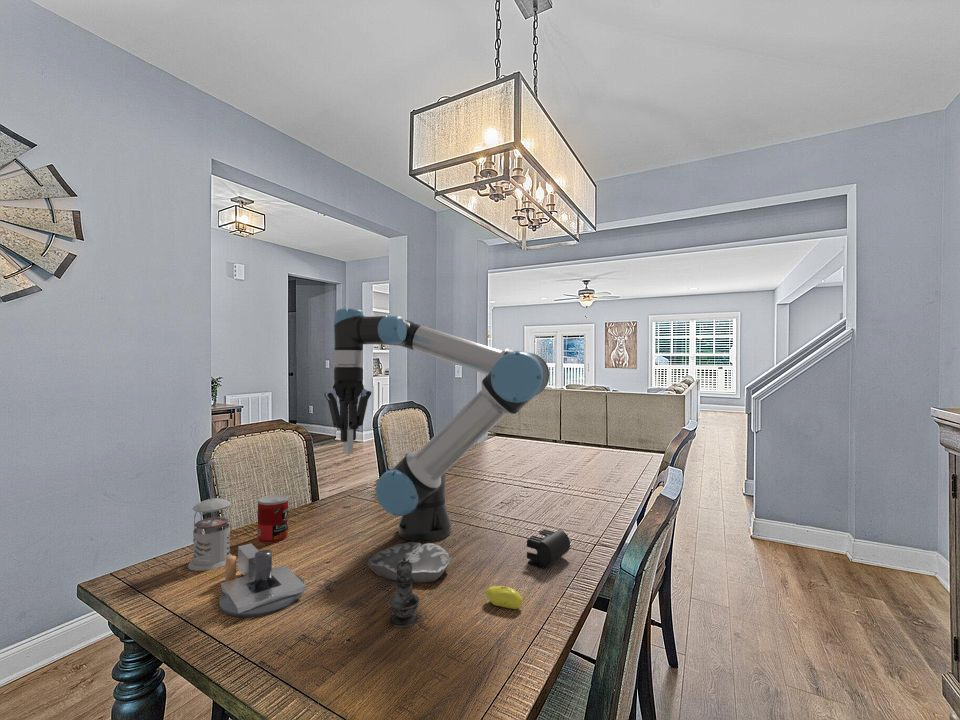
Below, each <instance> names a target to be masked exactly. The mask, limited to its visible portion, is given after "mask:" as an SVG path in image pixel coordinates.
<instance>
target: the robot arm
mask: <svg viewBox="0 0 960 720" xmlns="http://www.w3.org/2000/svg"><path fill="white" fill-rule="evenodd" d="M333 328H334V329H333V330H334V331H333V332H334V352H333V353H334V355H333V356H334V358H333V359H334V360H333V362H334V363H333V364H334V365H335V367H334V368H333V380H334V381H333V382H334V384H333V385H332V389H331V390H329V391H328V392H325V393H324V397H325V400H326V401H327V402H328V407H329V412H330V416H331V420H332V425H333V427H334V428H336V429H339V430H340V441H341V442H343V444H342V445H343V447H342V448H343V449H342V451H343V452H342V453H343V454H346V455H352V454H354V441H356V439H357V429H359V427H361V426H363V424H364V421H365V415H366V411H367V407H368V402H369V399H370V398H371V396H372V392H371V391H370V390H367V389H366V388H365V387H364V384H363V379H364V368H363V367H362V366H363V365H364V345H388V346H400V347H403V348H406V349H409V350H412V351H416V352H419V353H421V354H425V355H428V356H430V357H434V358H437V359H438V360H443V361H445V362H448V363H452V364H454V365H457V366H460V367H463V368H465V369H469V370H472V371H475V372H477V373H481V374H483V375H485V377H484V378H483V379H482V380H481V389H480V391H479V392H477V393H476V394H475V395H474V396H473V398H471V399H470V400H469V401H468V402H467V403H466V404H465V405H464V406H463V407H462V408H461V409H460V410H459V411H458V412H457V413H456V414H455V415H454V416H453V417H451V419H449V421H448V422H447V423H446V424H445V425H444V426H443V427H442V428H441V429H440V430H439V431H438V432H437V433H436V434H435V435H434V436H433V437H432V438H430V439H429V440H428V441H427V442H426V444H424V445H423V446H422V447H421V448H420V450H419V451H408V452H406V453H405V456H404V457H403V458H402V459H401V460H399V462H398V463H397V464H396V465H395V466H394V467H393V468H391V469H388V470H387V471H385V472H383V474H382V475H381V476H380V477H379V478H378V480H377V482H376V487H375V490H376V492H375V495H376V498H377V501H378V504H379V505H380V506H381V508H382V510H384V511H385V512H386V513H387V514H389V515H391V516H396V517H401V518H400V520H399V523H398V535H399V537H400V538H402V539H403V540H407V541H409V542H418V543H424V542H426V543H428V542H433V541H434V542H435V541H439V540H442V539H445V538H447V537H448V536H449V535H450V534H451V532H452V522H451V519H450V516H449V513H448V510H447V506H446V473H447V471H448V470H449V469H450V468H451V467H453V465H455V463H457V462H458V461H459V460H460V459H461V458H462V457H463V456H464V455H465V454H467V452H469V450H470V449H472V448H473V446H474V445H476V444H477V443H478V442H479V441H480V440H481V439H482V438H483V437H484V436H485V435H486V434H487V433H488V432H490V430H492V428H494V426H495V425H497V424H498V423H499V422H500V421H501V420H502V419H503V418H504V417H506V416H507V415H508V416H515V415H517V413H518V412H519V411H521V409H522V408H524V407H525V405H527V404H528V403H529V402H530V401H531V400H532V399H533V398H535V397H536V396H537V395H539V394H540V393H542V392H543V391H544V390H545V389H546V387H547V385H548V384H549V381H550V369H549V366H548V364H547V362H546V361H545V360H544V358H543V357H541V356H539V355H538V354H536V353H533V352H527V351H523V350H513V349H511V348H506V349H503V350H501V349H497V348H494V347H491V346H488V345H486V344H482V343H478V342H475V341H472V340H468V339H465V338H462V337H460V336H456V335H453V334H450V333H446V332H443V331H440V330H437V329H434V328H430V327H428V326H425V325H420V324H418V323H416V322H415V321H411V320H407V319H405V320H404V318H403V317H401V316H400V315H390V314H389V315H388V314H387V315H376V316H374V315H373V316H365V315H364V311H363V310H362V309H357V308H340V309H337V310H336V311H335V313H334V324H333ZM336 397H337V398H338V401H337V399H336ZM338 404H339V406H338Z"/></svg>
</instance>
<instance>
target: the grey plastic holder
mask: <svg viewBox="0 0 960 720" xmlns="http://www.w3.org/2000/svg"><path fill="white" fill-rule="evenodd" d="M259 551H260V550H258V549H257V547H255V545H253V543H251V542H250V543H247V544H242V545H238V547H237V569H238V570H239V572H240V573H241V574H242V575H243V576H241V577H236V579H233V580H230V581H226V580H225V581H224V582H223V581H222V582H220V589H221V590H222V593H223V592H224V593H225V595H226V596H227V598H228V599H229V601H230V603H231V604H232V606H233V607H234V609H235V610H236V612H237V613H241V612H244V611H247V610H250V609H253V608H256V607H259V606H262V605H265V604H268V603H271V602H274V601H277V600H280V599H283V598H286V597H289V596H292V595H294V594H297V593H300V592H303V591H304V592H306V591H307V585H306V584H305V582H304V583H303V582H302V581H301V580H300V579H299V578H298V577H297V576H296V575H297V574H295V573H294V572H293V571H292V570H291V569H290V568H288V566H286V565H285V564H283V565H282V564H281V565H278V566H275V567H272V580H273V581H274V582H275V583H276V584H277V585H278V586H277V587H274V588H271V589H268V590H264V591H261V592H258V593H255V594H252V592H251V591H250V590H249V587H252V586H255V553H257V552H259ZM304 592H303V593H304Z"/></svg>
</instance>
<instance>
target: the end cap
mask: <svg viewBox="0 0 960 720" xmlns="http://www.w3.org/2000/svg"><path fill="white" fill-rule="evenodd" d="M539 535H541V536H544V537H540V536H537V535H536V536H535V535H532V536H531V537H529V538H527V539H526V547H527V548H529V549H533V550H535V551H536V553H533V552H530V551H526V559H528V561H527V565H528V566H531V567H534V568H538V569H540V570H544V569H546V568H548V567H549V566H550V565H552V564H553V563H555V562H556V561H557V560H559V559H560V558H562V557H563V556H565V554H567V553H568V552H569V551H570V548H571V540H570V538H569V536H568V534H567V533H566V532H565V531H563V530H561V529H558V530H557V531H552V530H548V529H542V530H540V531H539Z"/></svg>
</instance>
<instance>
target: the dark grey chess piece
mask: <svg viewBox="0 0 960 720" xmlns="http://www.w3.org/2000/svg"><path fill="white" fill-rule="evenodd" d="M413 582H414V579H413V578H412V564H411V563H410V562H409V561H406V558H405V557H404V558H403V561H401V562H399V563H398V565H397V579H396V580H395V581H394V584H395V585H396V587H395V588H396V589H395V594H394V595H393V596H391V597H390V598H389V599H388V605H389V607H390V609H389V610H390V611H391V612H392V615H391V617H390V619H389V622H390V624H391V625H392V626H393V627H396V628H408V627H411V626H413V625H415V624H416V623H417V622H418V619H419V617H418V614H417V613H415V612H417V609H418V606H419V603H420V602H421V601H420V597H419V596H418V595H417V594H415V593H414V592H413ZM414 583H415V582H414Z"/></svg>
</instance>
